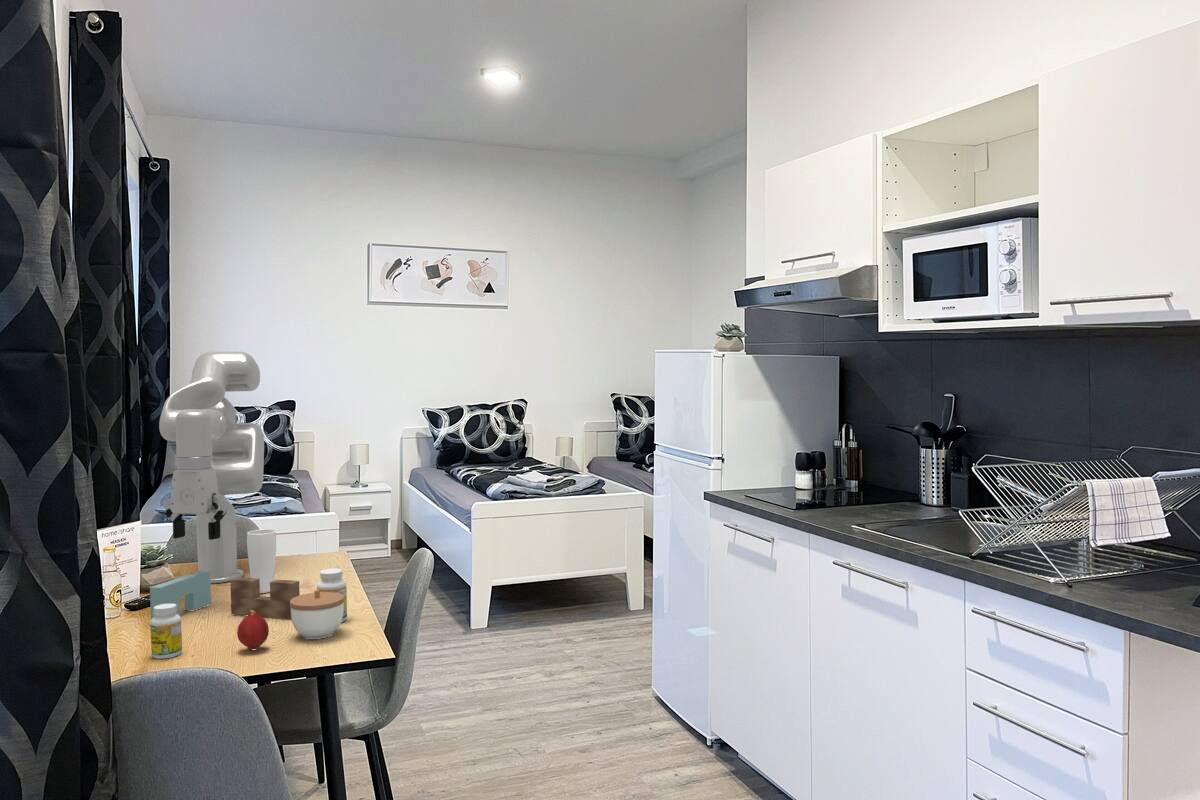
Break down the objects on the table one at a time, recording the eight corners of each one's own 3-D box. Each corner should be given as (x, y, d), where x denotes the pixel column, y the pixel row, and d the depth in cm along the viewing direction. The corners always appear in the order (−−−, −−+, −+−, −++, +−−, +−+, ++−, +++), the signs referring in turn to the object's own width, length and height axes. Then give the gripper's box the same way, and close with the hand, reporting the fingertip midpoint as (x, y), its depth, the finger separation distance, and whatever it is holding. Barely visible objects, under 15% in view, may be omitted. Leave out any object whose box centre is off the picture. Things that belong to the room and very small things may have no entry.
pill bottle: (319, 617, 195) (318, 568, 195) (348, 615, 196) (347, 566, 196) (316, 625, 189) (314, 574, 189) (346, 623, 190) (344, 573, 190)
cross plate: (160, 624, 192) (159, 587, 191) (151, 623, 192) (149, 587, 192) (211, 604, 207) (210, 570, 207) (202, 604, 208) (201, 570, 207)
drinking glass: (267, 595, 215) (265, 534, 214) (242, 594, 216) (240, 533, 215) (282, 588, 221) (281, 529, 221) (258, 587, 223) (256, 528, 222)
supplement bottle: (188, 651, 173) (186, 603, 173) (167, 660, 168) (165, 610, 167) (166, 649, 175) (164, 601, 174) (144, 658, 169) (143, 608, 169)
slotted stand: (231, 615, 198) (230, 579, 198) (238, 612, 201) (237, 577, 200) (293, 619, 194) (292, 583, 194) (300, 616, 196) (299, 580, 196)
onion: (243, 645, 176) (242, 606, 176) (272, 644, 177) (271, 605, 176) (233, 655, 170) (232, 614, 170) (264, 654, 171) (263, 613, 170)
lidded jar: (299, 628, 188) (297, 584, 187) (350, 626, 188) (349, 583, 188) (284, 644, 177) (282, 598, 176) (338, 642, 177) (337, 596, 177)
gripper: (151, 465, 202) (153, 539, 203) (215, 466, 198) (217, 542, 198) (175, 462, 209) (177, 534, 210) (237, 463, 205) (239, 536, 205)
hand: (196, 538), depth 204 cm, fingers open, 9 cm apart
